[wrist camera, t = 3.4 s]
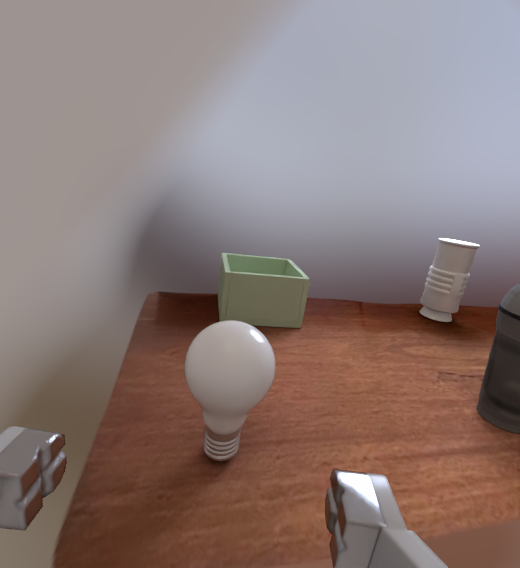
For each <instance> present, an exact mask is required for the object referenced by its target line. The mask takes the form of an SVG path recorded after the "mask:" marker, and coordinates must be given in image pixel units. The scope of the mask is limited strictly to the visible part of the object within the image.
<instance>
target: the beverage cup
mask: <svg viewBox="0 0 520 568" xmlns="http://www.w3.org/2000/svg"><path fill="white" fill-rule="evenodd" d="M498 310H499V311H498V314H497V322H496V328H497V329H496V333H495V336H494V340H493V344H492V348H491V352H490V356H489V359H488V363H487V367H486V371H485V375H484V378H483V382H482V386H481V390H480V394H479V402H478V405H477V411H478V413H479V414H480V415H481V416H482V417H483V418H484V419H486V420H487V421H488V422H490V423H491V424H493V425H495V426H497V427H499V428H501V429H504V430H506V431H509V432H513V433H520V284H518V285H516V286H515V287H513V288H512V289H511V290H510V291H509V292H508V293H507V294H506V296H505V297H504V298H503V300H502V302H501V303H500V304H499V306H498Z"/></svg>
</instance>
